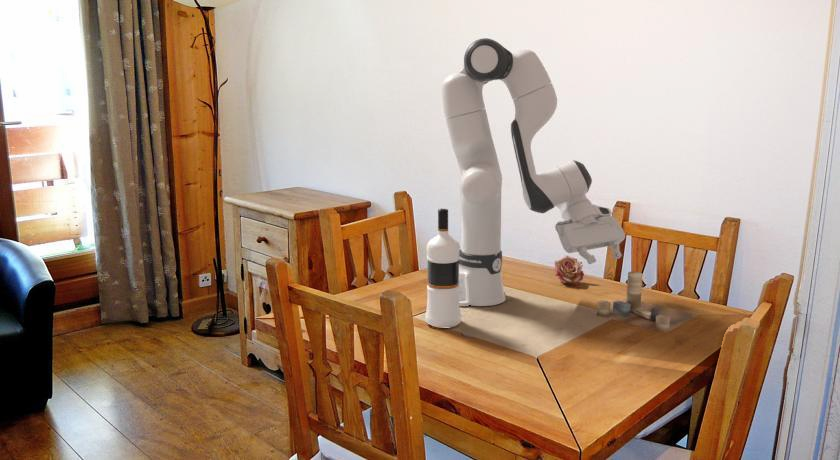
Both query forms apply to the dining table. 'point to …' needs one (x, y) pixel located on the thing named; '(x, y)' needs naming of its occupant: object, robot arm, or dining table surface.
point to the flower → (569, 270)
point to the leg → (638, 296)
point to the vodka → (443, 277)
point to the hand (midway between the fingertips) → (605, 260)
